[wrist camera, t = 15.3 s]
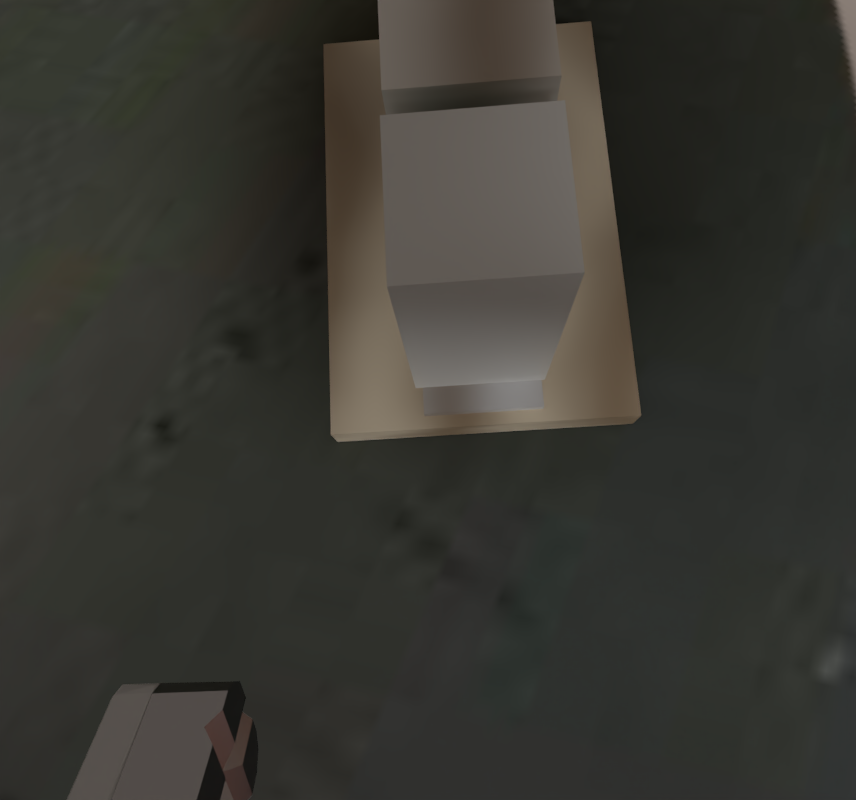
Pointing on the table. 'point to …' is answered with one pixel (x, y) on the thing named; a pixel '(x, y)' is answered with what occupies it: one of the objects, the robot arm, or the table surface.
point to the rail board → (365, 235)
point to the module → (480, 239)
